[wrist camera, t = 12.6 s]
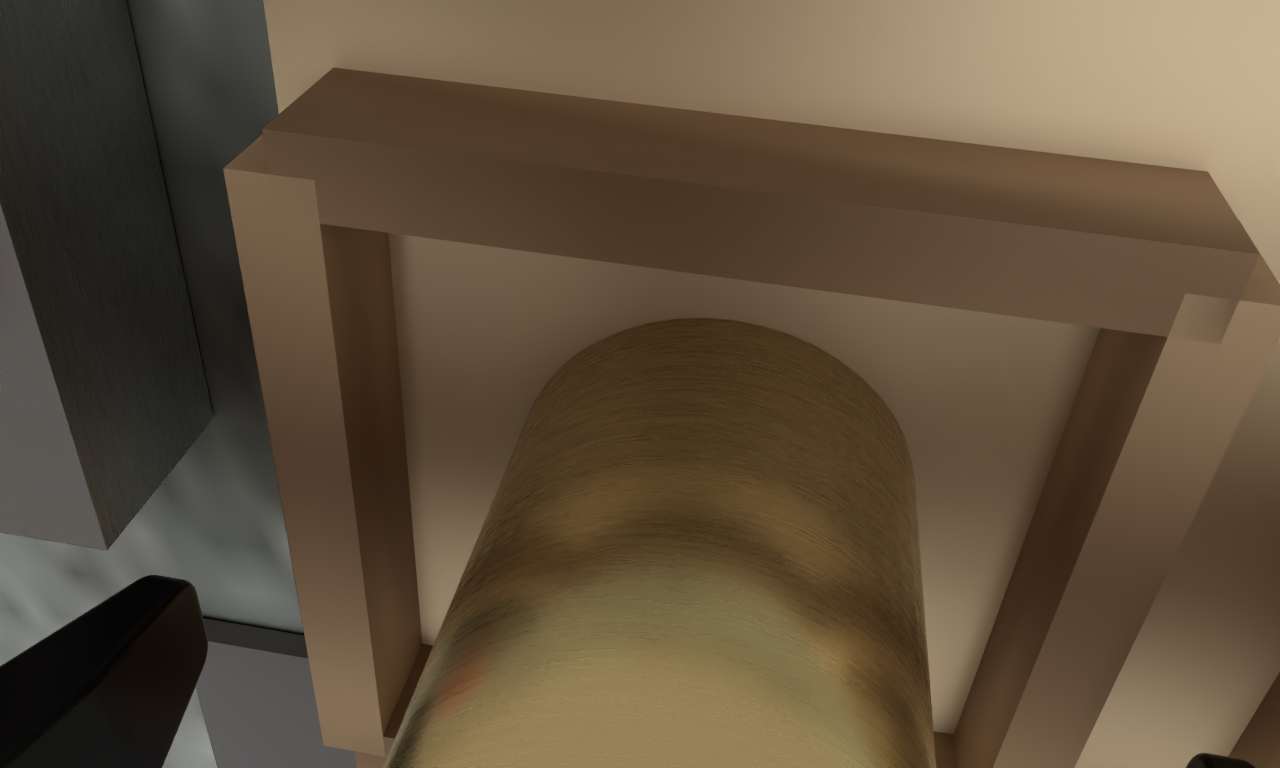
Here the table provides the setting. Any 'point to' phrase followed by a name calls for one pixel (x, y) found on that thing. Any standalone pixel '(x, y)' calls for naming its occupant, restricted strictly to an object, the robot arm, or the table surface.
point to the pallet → (804, 315)
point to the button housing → (86, 281)
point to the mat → (262, 701)
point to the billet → (689, 572)
